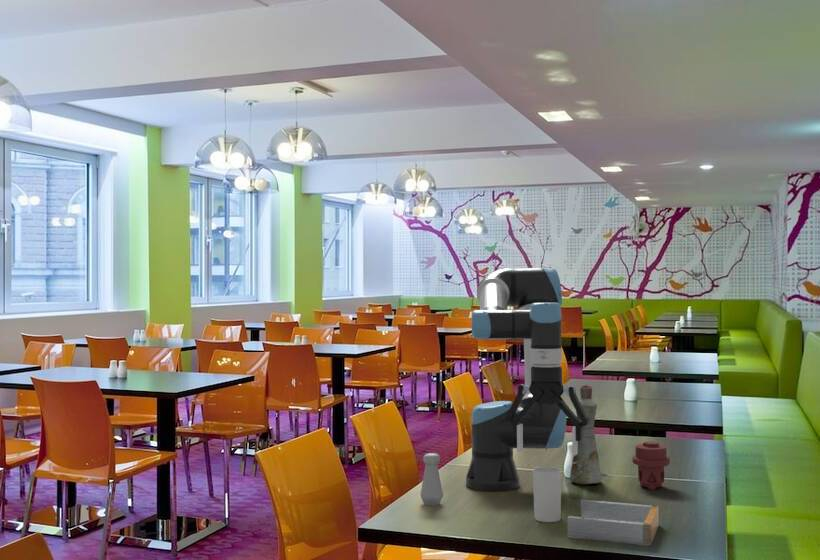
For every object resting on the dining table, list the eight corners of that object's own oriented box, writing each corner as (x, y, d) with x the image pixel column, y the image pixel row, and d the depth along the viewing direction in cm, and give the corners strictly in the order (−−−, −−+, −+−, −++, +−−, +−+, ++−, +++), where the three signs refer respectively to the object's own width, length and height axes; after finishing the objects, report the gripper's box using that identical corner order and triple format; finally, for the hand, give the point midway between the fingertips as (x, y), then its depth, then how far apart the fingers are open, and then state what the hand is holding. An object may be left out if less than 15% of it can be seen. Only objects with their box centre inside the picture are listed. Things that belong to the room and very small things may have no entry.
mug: (561, 523, 205) (560, 473, 205) (532, 522, 206) (532, 472, 206) (562, 512, 215) (561, 464, 215) (535, 511, 216) (534, 463, 216)
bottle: (582, 487, 240) (581, 387, 240) (563, 480, 248) (562, 383, 248) (608, 484, 244) (606, 385, 244) (589, 477, 252) (588, 382, 252)
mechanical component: (668, 483, 244) (671, 491, 234) (631, 482, 246) (633, 490, 236) (667, 439, 244) (671, 446, 234) (631, 438, 246) (633, 445, 236)
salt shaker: (427, 507, 220) (426, 457, 220) (416, 502, 225) (416, 453, 225) (447, 505, 223) (446, 454, 223) (436, 500, 228) (435, 450, 228)
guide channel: (567, 537, 194) (567, 517, 194) (582, 518, 209) (581, 499, 209) (650, 546, 187) (650, 525, 187) (658, 525, 203) (658, 506, 203)
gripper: (492, 365, 212) (493, 452, 212) (595, 368, 202) (596, 458, 202) (501, 363, 219) (502, 446, 219) (600, 365, 209) (601, 453, 209)
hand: (547, 452), depth 210 cm, fingers open, 13 cm apart
